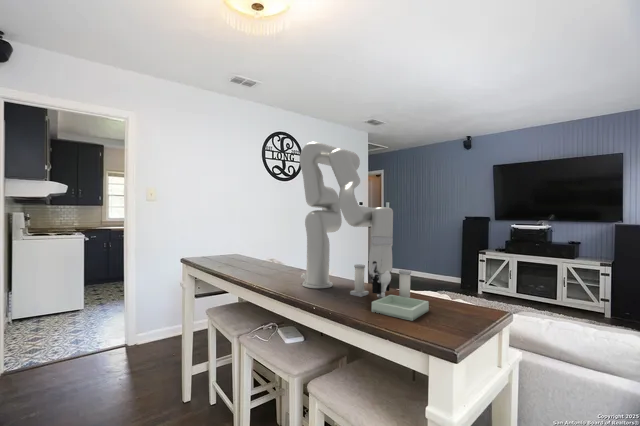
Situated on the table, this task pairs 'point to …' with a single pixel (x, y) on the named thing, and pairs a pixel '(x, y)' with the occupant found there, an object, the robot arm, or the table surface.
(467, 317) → the table surface
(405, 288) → the post
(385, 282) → the light bulb
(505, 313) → the table surface
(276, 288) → the table surface
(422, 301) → the tray
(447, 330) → the table surface
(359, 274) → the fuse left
